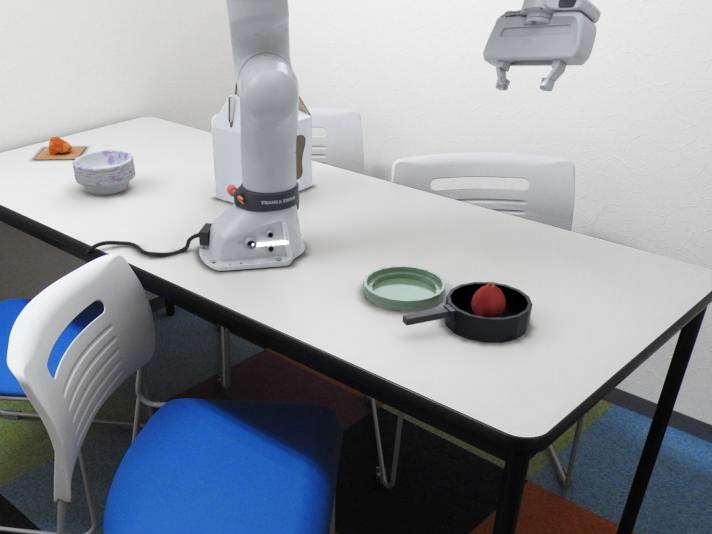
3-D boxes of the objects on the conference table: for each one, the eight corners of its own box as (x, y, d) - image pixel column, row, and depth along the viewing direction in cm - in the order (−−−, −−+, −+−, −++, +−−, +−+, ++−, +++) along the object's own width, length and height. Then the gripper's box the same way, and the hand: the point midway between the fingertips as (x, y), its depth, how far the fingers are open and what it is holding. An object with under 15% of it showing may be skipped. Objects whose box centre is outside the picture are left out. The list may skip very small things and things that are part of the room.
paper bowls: (65, 195, 197) (59, 164, 193) (98, 177, 209) (94, 147, 204) (116, 202, 192) (112, 170, 188) (147, 183, 204) (144, 152, 199)
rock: (76, 159, 222) (74, 144, 220) (34, 160, 223) (31, 145, 220) (86, 147, 232) (83, 132, 230) (45, 147, 232) (42, 133, 230)
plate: (384, 319, 139) (385, 306, 138) (350, 284, 151) (351, 273, 150) (459, 304, 143) (460, 292, 142) (420, 272, 155) (421, 260, 154)
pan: (498, 298, 145) (501, 276, 143) (544, 333, 134) (548, 310, 131) (385, 320, 139) (386, 297, 136) (423, 359, 128) (425, 335, 125)
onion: (465, 315, 140) (470, 274, 135) (496, 313, 140) (502, 272, 136) (474, 330, 135) (480, 289, 130) (506, 329, 135) (513, 287, 131)
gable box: (253, 210, 186) (248, 87, 170) (215, 198, 193) (206, 79, 177) (312, 186, 199) (313, 69, 183) (274, 175, 207) (271, 63, 191)
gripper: (490, 4, 140) (466, 82, 142) (591, -4, 125) (562, 83, 127) (509, 18, 144) (486, 94, 147) (609, 12, 129) (581, 97, 132)
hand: (522, 89), depth 137 cm, fingers open, 8 cm apart
